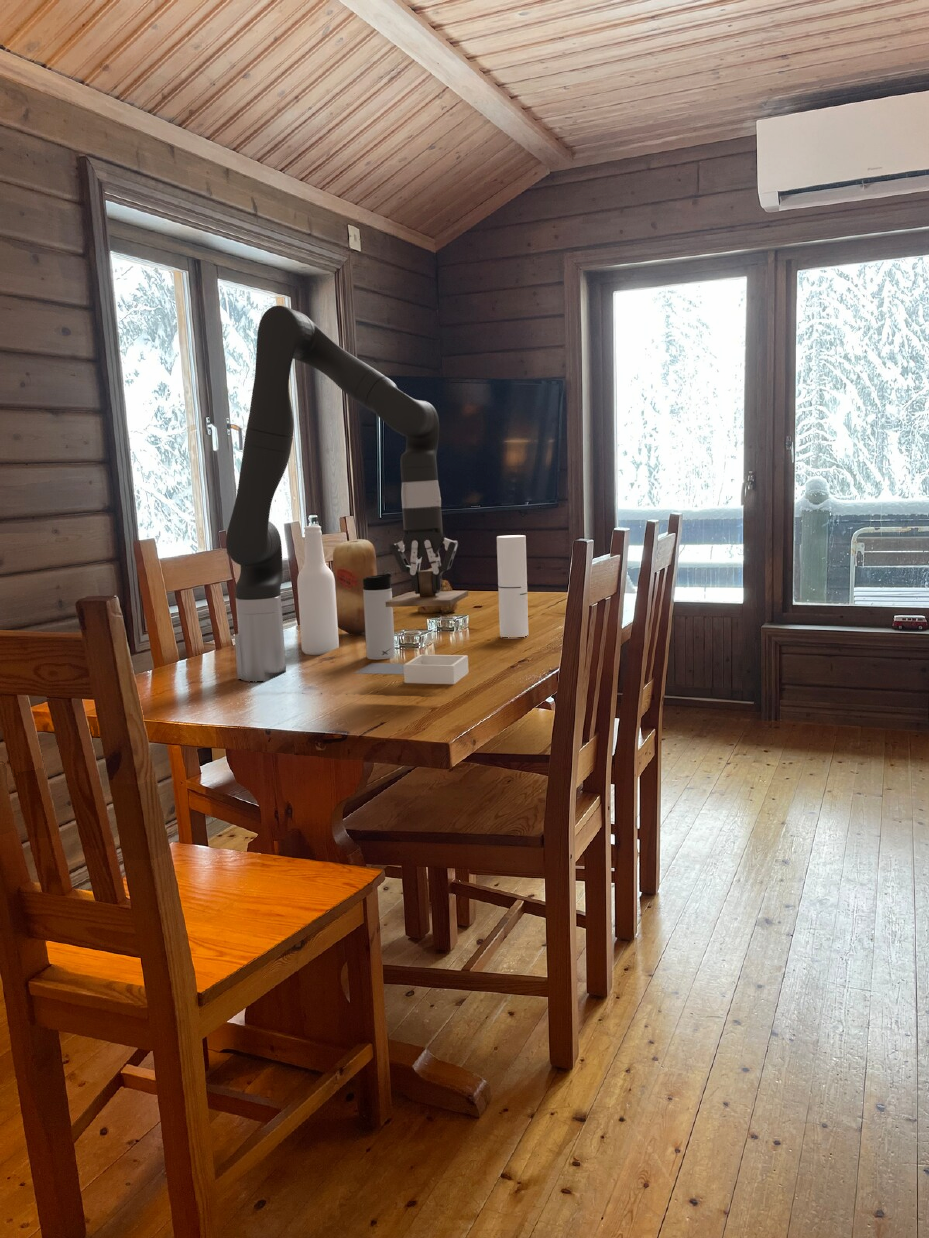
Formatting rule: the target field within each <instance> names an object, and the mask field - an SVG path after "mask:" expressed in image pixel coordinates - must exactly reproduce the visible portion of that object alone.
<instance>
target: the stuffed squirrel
mask: <svg viewBox="0 0 929 1238" xmlns="http://www.w3.org/2000/svg"><path fill="white" fill-rule="evenodd" d="M427 570H432V567H430V568H428V569H427ZM444 572H445V571H443V572H442V574H443V573H444ZM443 591H453V588H452V586H451V584H450V583H449V580H446V579H442V590H440V592H443ZM458 606H459V604H458V602H456V603H454V604H452V605H445V606H418V608H417V612H418V613H423V614H435V613H442V614H448V613H454V612H455V611H456V610H457V608H458Z"/></svg>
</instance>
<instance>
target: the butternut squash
mask: <svg viewBox="0 0 929 1238" xmlns="http://www.w3.org/2000/svg"><path fill="white" fill-rule="evenodd" d="M332 552H333V553H332V562H333V563H332V564H333V565H332V568H333V569H332V570H333V571H332V572H333V575H334V578H335V586H336V608H337V624H338V630H339V629H340V630H341V631H343V632H345V633H347V635H348V634H349V635H350V636H360V637H361V636H364V635H365V636H366V632H365V614H364V596H363V593H364V592H363V586H364V585H363V579H366V577H370V576H376V575H378V570H377V556H376V548H375V546H374V544H373V543H372V542H371V541H370V540H367V539H361V538H359V539H358V538H357V539H353V540H351V539H350V540H347V541H344V542H340V543H339V544H337V545H336V546H335V548H334V549H333V551H332Z"/></svg>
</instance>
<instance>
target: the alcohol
mask: <svg viewBox="0 0 929 1238" xmlns="http://www.w3.org/2000/svg"><path fill="white" fill-rule="evenodd" d="M303 529H304V533H303V534H304V563H303V567H302V568H301V570H300V571H299V572H298V575H297V580H296V582H297V583H296V584H297V596H298V613H299V626H300V627H299V628H300V641H301V643H300V645H301V651H302V652H303V653H304V654H305V655H308V656H310V655H311V656H322V655H325V654H328V653H330V652H333V651H334V650H337V649H338V648H340V643H339V642H340V641H339V628H338V624H337V608H336V592H337V590H336V581H335V578H334V572H333V571H332V570H331V569H330V568H329V566H328V565H327V564H326V559H325V555H324V554H325V553H324V547H323V546H324V545H323V539H322V534H323V532H322V526H320V525H308V526H307V525H306V526H304V527H303Z"/></svg>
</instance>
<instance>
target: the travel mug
mask: <svg viewBox="0 0 929 1238" xmlns="http://www.w3.org/2000/svg"><path fill="white" fill-rule="evenodd" d="M393 575H394V574H393V572H388V573H385V574H383V573H382V574H377V575H376V576H370V577H366V579H363V585H364V586H363V592H364V593H363V596H364V614H365V632H366V634H365V648H366V656H367V657H366V658H367V659H369V660H388V659H392V658H395V657H396V650H395V648H396V647H395V630H394V629H395V627H394V609H393V608H394V607H386V603H385V602H386V601H389V600H391V599H393V592H392V589H393V588H392V585H391V584H392V577H393Z"/></svg>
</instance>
